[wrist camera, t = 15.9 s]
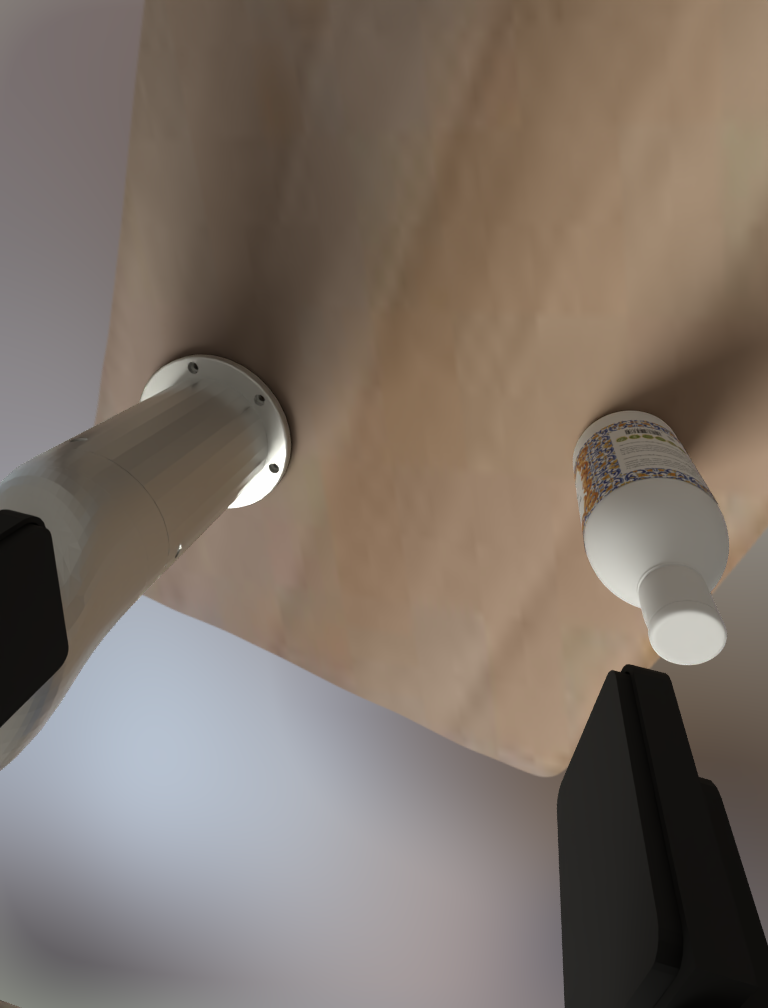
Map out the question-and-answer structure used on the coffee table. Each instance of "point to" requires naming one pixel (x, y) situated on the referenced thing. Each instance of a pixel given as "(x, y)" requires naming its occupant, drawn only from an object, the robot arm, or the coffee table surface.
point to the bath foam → (653, 531)
